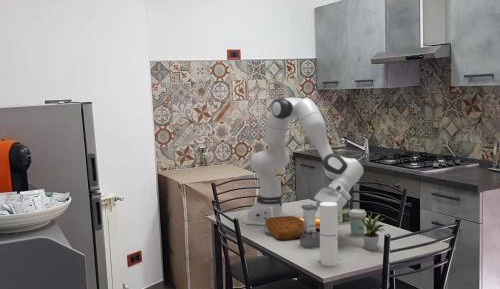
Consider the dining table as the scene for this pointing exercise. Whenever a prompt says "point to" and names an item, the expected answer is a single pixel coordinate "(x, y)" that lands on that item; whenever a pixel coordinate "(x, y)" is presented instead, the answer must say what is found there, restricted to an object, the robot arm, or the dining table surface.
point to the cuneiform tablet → (285, 227)
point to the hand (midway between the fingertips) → (318, 213)
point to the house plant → (371, 233)
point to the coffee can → (344, 214)
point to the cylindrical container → (328, 234)
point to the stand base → (309, 240)
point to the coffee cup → (357, 221)
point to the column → (309, 218)
